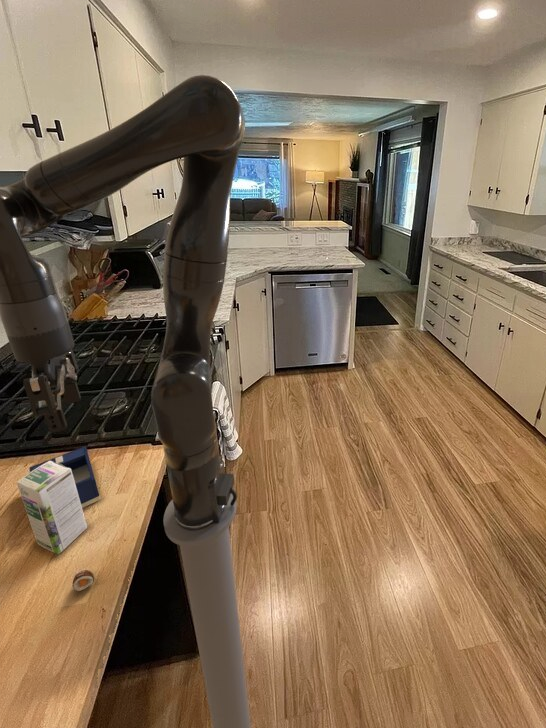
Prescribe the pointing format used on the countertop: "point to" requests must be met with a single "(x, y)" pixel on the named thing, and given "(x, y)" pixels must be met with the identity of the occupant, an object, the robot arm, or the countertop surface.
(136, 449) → the countertop surface
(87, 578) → the chocolate
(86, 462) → the navy blue pull-out drawer
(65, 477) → the syrup box
